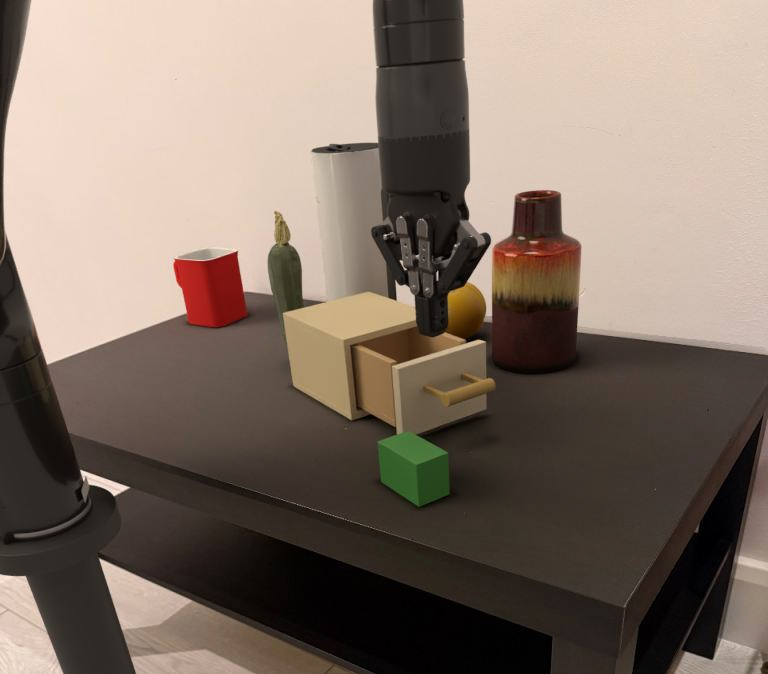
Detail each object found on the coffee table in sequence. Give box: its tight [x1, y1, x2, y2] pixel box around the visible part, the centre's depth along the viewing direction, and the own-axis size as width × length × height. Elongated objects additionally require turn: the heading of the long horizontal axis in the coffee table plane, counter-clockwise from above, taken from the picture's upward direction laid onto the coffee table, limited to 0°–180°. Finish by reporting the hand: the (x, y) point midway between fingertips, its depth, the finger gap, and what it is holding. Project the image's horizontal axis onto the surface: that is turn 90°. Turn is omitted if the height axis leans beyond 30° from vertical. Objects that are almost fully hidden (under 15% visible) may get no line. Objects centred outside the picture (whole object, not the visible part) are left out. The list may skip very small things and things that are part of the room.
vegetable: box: [267, 210, 305, 349], centre depth 101 cm, size 4×4×20 cm
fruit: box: [445, 281, 487, 340], centre depth 108 cm, size 9×8×8 cm
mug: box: [172, 246, 248, 328], centre depth 126 cm, size 12×8×11 cm
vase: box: [491, 189, 583, 374], centre depth 96 cm, size 11×11×20 cm
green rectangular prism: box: [377, 431, 451, 508], centre depth 72 cm, size 6×4×4 cm, turn 34°
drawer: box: [350, 326, 496, 435], centre depth 85 cm, size 18×11×8 cm, turn 34°
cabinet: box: [283, 292, 417, 421], centre depth 94 cm, size 15×13×10 cm
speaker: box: [310, 141, 398, 302], centre depth 109 cm, size 11×10×26 cm
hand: (432, 334), depth 72 cm, fingers closed
